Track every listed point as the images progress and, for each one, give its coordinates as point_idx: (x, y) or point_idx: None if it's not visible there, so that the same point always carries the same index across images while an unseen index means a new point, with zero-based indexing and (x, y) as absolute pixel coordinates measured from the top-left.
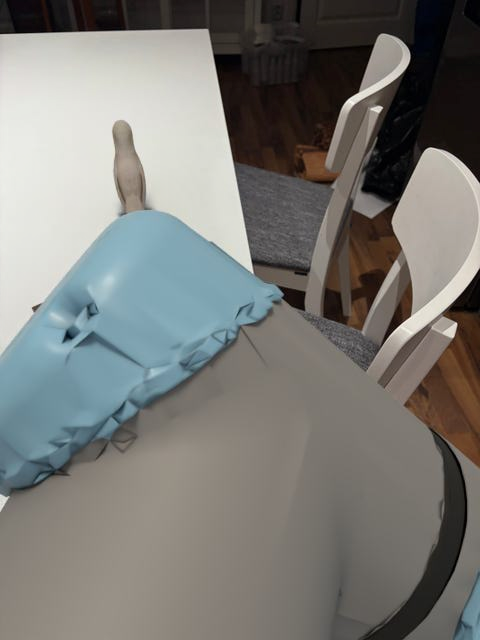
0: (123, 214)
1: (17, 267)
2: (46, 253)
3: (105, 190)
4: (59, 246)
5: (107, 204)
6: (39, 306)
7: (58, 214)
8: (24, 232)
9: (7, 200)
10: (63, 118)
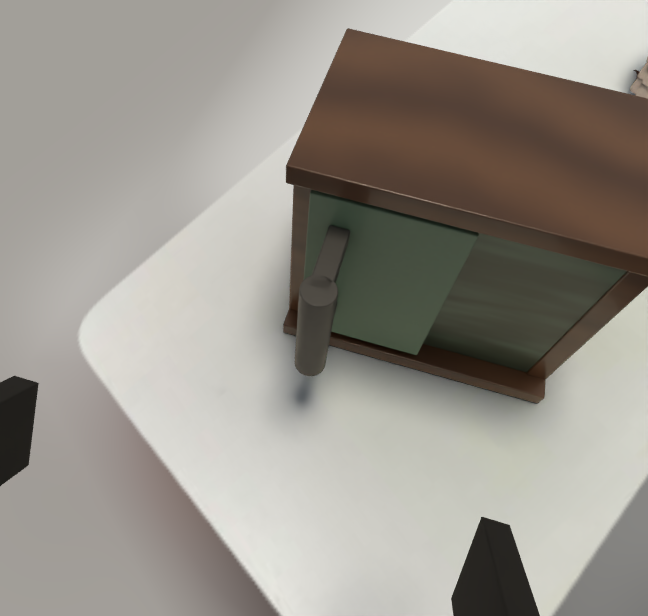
0: (636, 71)
1: (431, 38)
2: (482, 48)
3: (642, 27)
4: (507, 51)
5: (626, 45)
6: (359, 35)
7: (547, 14)
8: (483, 7)
9: None
10: None
